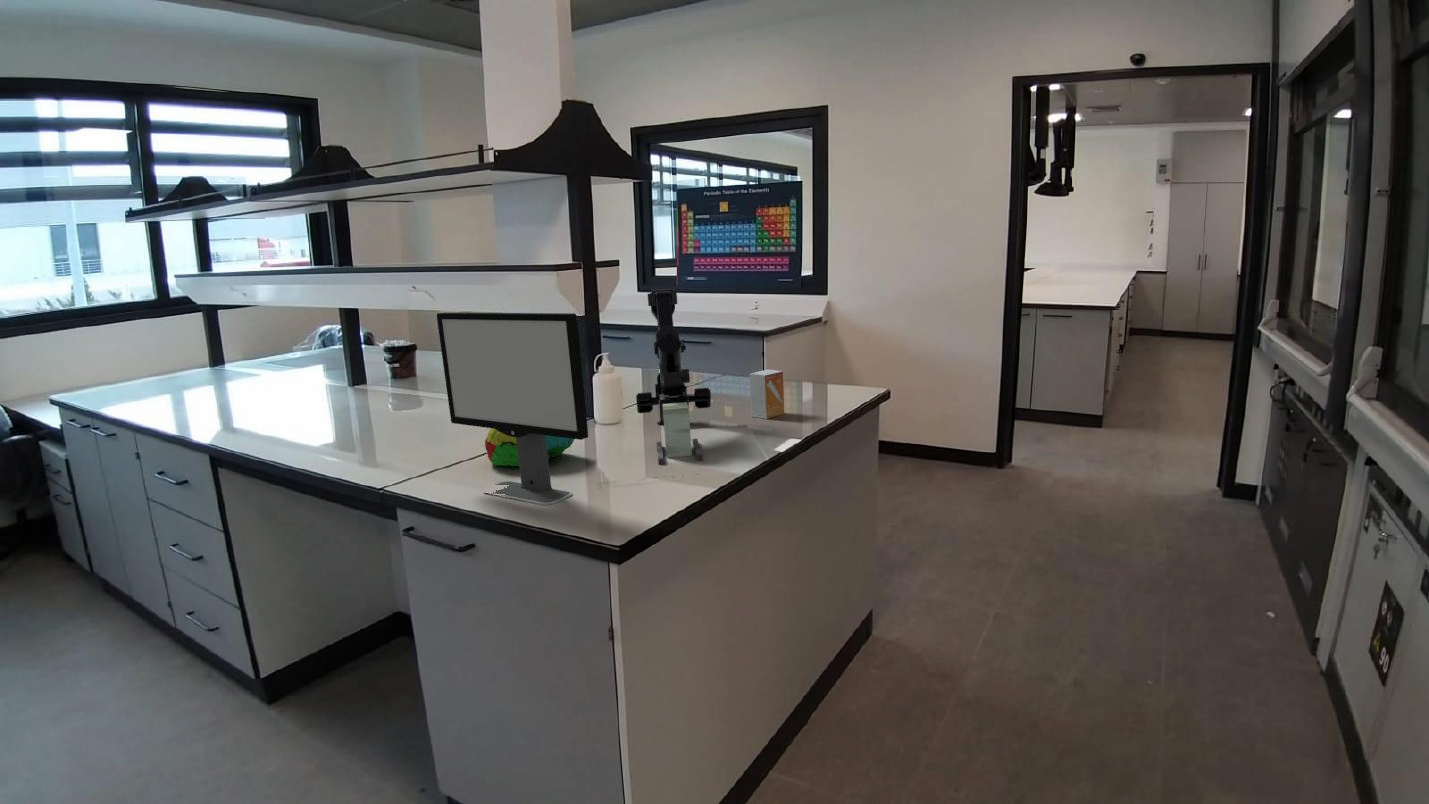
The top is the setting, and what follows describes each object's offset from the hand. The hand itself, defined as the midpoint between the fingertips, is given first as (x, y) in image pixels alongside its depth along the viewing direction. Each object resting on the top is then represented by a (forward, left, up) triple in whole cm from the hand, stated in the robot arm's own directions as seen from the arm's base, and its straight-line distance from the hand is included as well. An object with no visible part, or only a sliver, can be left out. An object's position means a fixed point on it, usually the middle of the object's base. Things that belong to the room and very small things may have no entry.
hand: (676, 428), depth 194 cm
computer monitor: (-14, -38, -7) cm, 41 cm away
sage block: (+2, -3, -5) cm, 6 cm away
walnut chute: (+2, -3, -7) cm, 8 cm away
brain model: (-32, -18, -7) cm, 38 cm away
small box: (0, +45, -7) cm, 45 cm away
